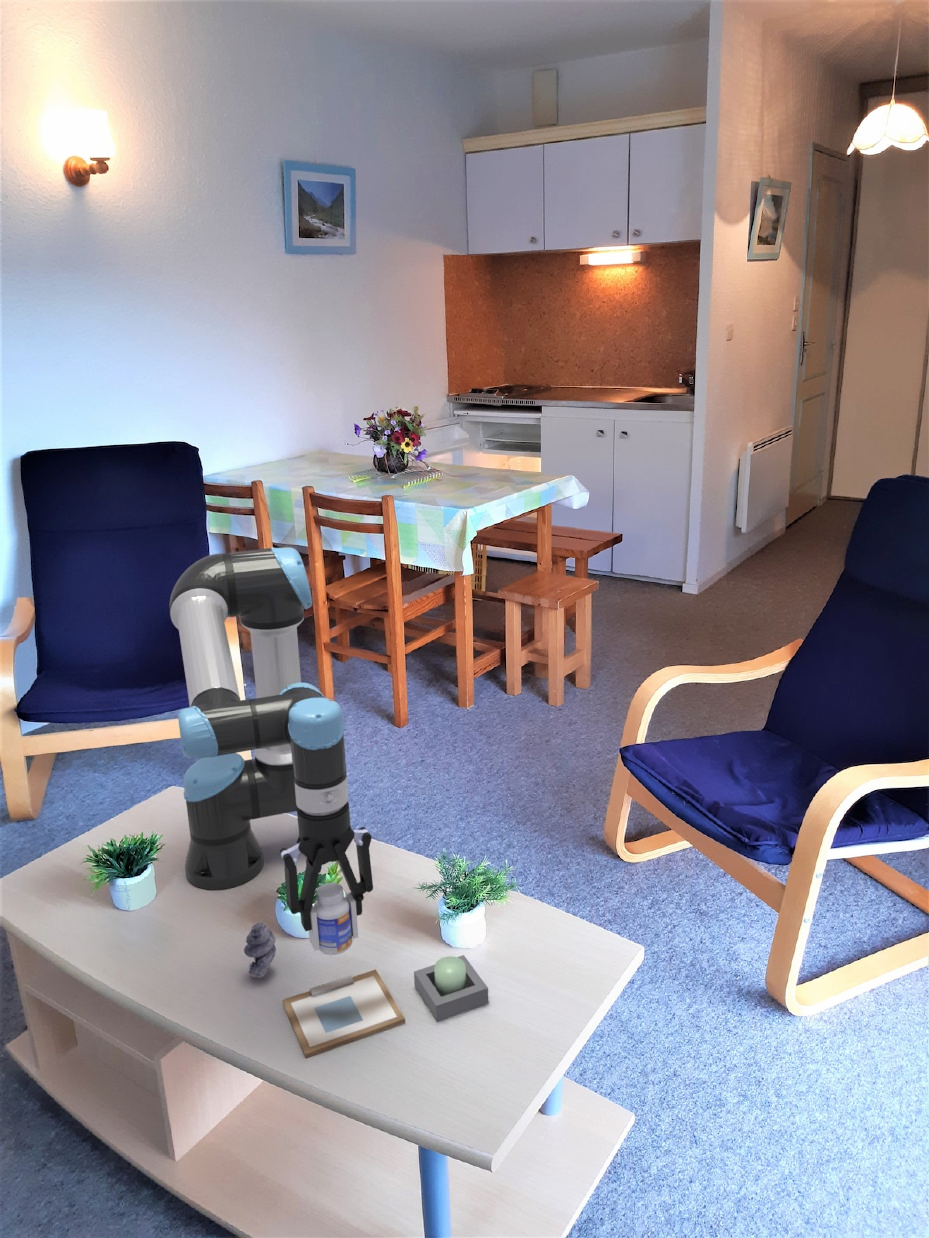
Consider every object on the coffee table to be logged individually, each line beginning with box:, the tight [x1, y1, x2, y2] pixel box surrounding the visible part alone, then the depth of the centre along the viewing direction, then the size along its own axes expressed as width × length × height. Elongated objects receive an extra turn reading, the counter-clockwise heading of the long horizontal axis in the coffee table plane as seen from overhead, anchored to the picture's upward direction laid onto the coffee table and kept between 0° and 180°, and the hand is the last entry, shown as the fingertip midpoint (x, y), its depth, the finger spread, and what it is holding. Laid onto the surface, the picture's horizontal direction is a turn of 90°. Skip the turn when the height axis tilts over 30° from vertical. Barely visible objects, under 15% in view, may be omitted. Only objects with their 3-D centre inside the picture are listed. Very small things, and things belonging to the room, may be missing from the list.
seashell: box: [243, 922, 277, 980], centre depth 158 cm, size 5×5×10 cm
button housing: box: [413, 954, 489, 1022], centre depth 153 cm, size 9×9×3 cm
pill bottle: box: [313, 882, 353, 956], centre depth 143 cm, size 5×5×10 cm
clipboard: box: [282, 969, 406, 1059], centre depth 150 cm, size 13×16×2 cm
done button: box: [434, 956, 467, 997], centre depth 153 cm, size 5×5×4 cm
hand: (333, 938), depth 145 cm, fingers closed on pill bottle, 5 cm apart
